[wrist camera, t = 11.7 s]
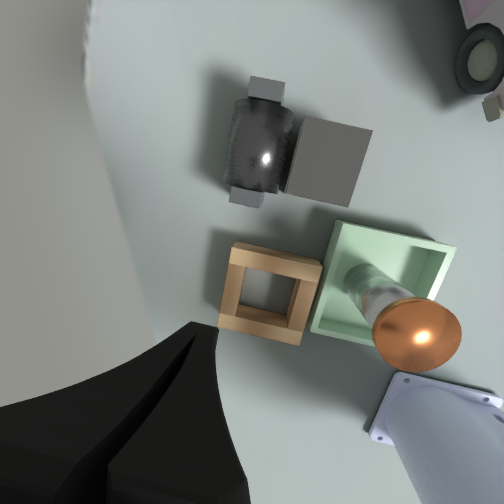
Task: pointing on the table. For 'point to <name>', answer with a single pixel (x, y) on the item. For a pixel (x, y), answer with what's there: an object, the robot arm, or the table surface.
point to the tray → (384, 258)
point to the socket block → (262, 320)
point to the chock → (327, 161)
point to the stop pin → (403, 321)
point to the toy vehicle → (483, 54)
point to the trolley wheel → (258, 142)
